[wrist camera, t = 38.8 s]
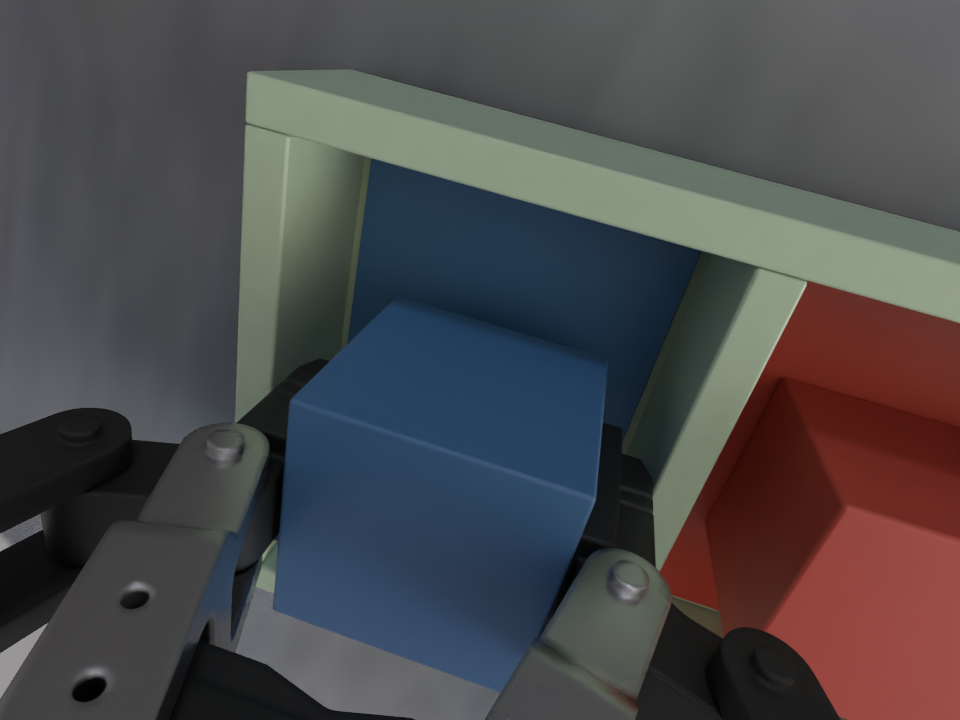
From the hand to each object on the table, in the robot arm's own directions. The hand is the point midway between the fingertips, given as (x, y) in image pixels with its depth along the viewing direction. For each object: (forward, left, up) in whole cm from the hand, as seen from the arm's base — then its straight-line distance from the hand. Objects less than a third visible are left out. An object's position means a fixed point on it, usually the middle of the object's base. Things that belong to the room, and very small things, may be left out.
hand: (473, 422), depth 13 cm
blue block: (0, 0, 0) cm, 0 cm away
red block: (+8, 0, -2) cm, 8 cm away
